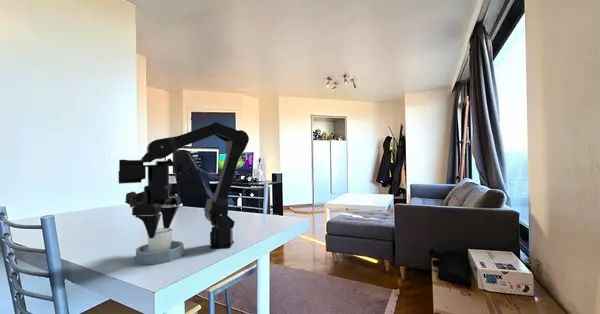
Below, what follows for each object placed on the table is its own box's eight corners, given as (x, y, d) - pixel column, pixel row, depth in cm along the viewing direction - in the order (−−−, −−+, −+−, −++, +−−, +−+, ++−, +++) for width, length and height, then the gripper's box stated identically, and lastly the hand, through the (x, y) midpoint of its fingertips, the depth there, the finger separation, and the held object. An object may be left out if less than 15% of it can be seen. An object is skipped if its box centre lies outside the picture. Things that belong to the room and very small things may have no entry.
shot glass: (163, 258, 83) (162, 233, 83) (141, 257, 84) (141, 233, 84) (177, 250, 89) (177, 227, 90) (157, 250, 91) (157, 227, 91)
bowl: (189, 249, 93) (189, 240, 93) (172, 263, 80) (172, 252, 80) (149, 250, 93) (149, 241, 93) (126, 264, 80) (126, 254, 80)
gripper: (147, 180, 96) (148, 227, 96) (111, 185, 77) (112, 243, 77) (181, 179, 96) (182, 226, 96) (153, 184, 78) (154, 242, 77)
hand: (159, 233), depth 87 cm, fingers open, 9 cm apart
